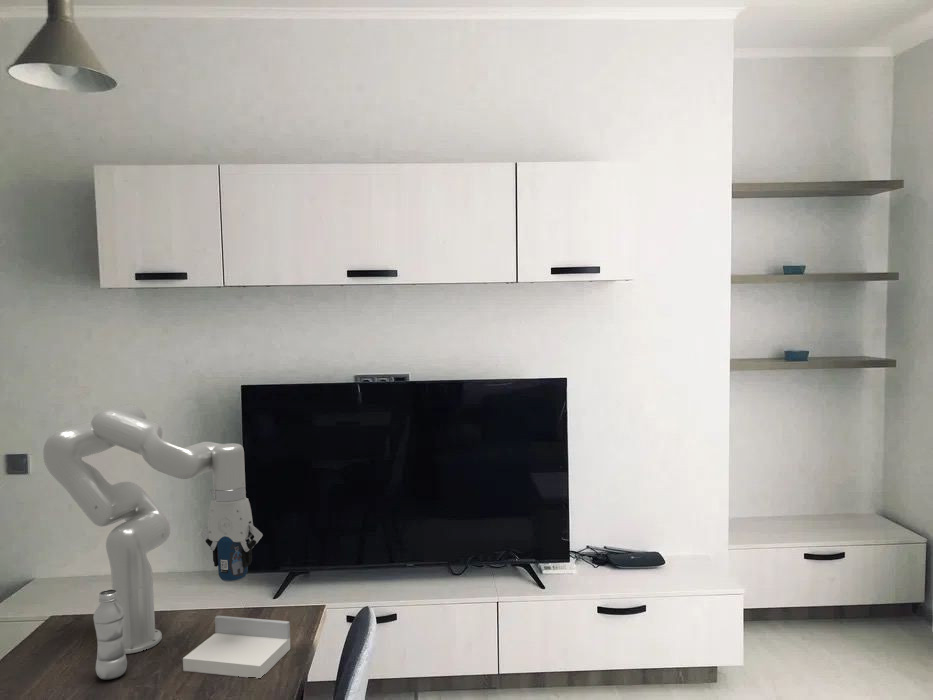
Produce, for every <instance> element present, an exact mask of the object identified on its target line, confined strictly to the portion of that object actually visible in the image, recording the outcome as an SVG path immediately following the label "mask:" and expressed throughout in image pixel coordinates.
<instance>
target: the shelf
mask: <svg viewBox="0 0 933 700" xmlns="http://www.w3.org/2000/svg"><path fill="white" fill-rule="evenodd" d="M214 623H215V624H214V625H215V627H214V628H215V631H214V632H215V633H213V634H211V636H210V637H208V638H207V639H206V640H205V641H203V642H202V643H201V644H199V645H197V646H196V647H195V648H194V649H193V650H191V651H189V652H188V654H186V655H185V656H184V657H183V658H182V671H183V672H192V673H199V674H200V673H201V674H212V675H222V676H229V677H238V676H239V677H240V678H248V677H256V678H255V679H258V678H261V677H262V676H263V675H264V674H265V675H266V674H267V673H268V672H269V671H270V670H271V669H272V668H273V667H274V666H275V665H276V664H277V663H278V662H279V661H280V660H281V659H282V658H283V657H284V656H285V655H286V654H287V653H288V652H289V651H290V650H291V628H290V627H291V626H290V624H291V623H290V621H288V620H287V621H286V620H278V619H277V620H276V619H264V618H253V617H252V618H250V617H239V616H228V615H216V616H214ZM265 675H264V676H265ZM264 676H263V677H264ZM263 677H262V678H263ZM262 678H261V679H262Z"/></svg>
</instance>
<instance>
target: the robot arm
mask: <svg viewBox="0 0 933 700" xmlns="http://www.w3.org/2000/svg"><path fill="white" fill-rule="evenodd" d="M115 446H117V447H120V448H123V449H125V450H127V451H130V452H133V453H135V454H138V455H141V456H142V458H143V460H144V461H145V462H146V464H147V465H149V466H150V467H151V469H154V470H156V471H157V472H160V473H162V474H165V475H167V476H170V477H172V478H176V479H181V480H190V479H194V478H195V477H198V476H200V475H202V474H206V473H209V472H212V482H213V483H212V486H213V487H212V488H211V489H209V491H208V494H209V495H210V496H211V495H212V497H213V499H211V500H210V503H209V504H210V505H209V509H208V518H207V519H208V520H207V527H206V528H204V530H203V531H202V532H201V533H200V536H201V537H202V539H203V540H204V541H205V543H206V544H207V545H208V546H209V549H210V551H212V561H213V566H214V567H216V568H218V551H217V542H218V541H219V540H220V539H221V538H222V537H224V536H226V537H229V538H230V539H232V541H233V542H241V545H242V547H243V549H244V551H243V552H242V562H243V568H246V567H247V566H248V567H249V566H250V565H251V564H252V562H253V550H252V549H253V548H254V547H255V546H256V545H257V544H258V543H259V541H260V540H261V539H262V537H263V536H264V535H263V533H262V532H261V531H260V530H259V528H257V527H255V525H254V522H253V515H252V514H253V513H252V508H251V503H250V501H249V498H247V495H246V494H247V491H246V472H245V466H246V465H245V451H244V447H243V445H242V444H240V443H232V442H231V443H218V442H213V441H202V442H198V443H195V444H192V445H188V446H185V447H181V446H178V445H175V444H172V443H170V442H167V441H166V440H163V429H162V426H161V425H160V424H159V423H156V422H154V421H152V420H151V421H150V420H149V419H147V416H146V413H145V411H144V410H143V409H142V408H140V407H139V406H137V405H135V404H129V403H128V404H123V405H122V404H120V405H116V406H111V407H107V408H104V409H102V410H100V411H98V412H97V413H96V414H94V416H93V417H92V419H91V422H86V423H81V424H77V425H76V424H75V425H70V426H65V427H64V428H61V429H58V430H57V431H54V432H53V433H52V434H50V435H49V436H48V437H47V439H46V440H45V443H44V445H43V451H42V452H43V453H42V454H43V462H44V465H45V467H46V470H47V471H48V472H49V474H50V475H51V477H53V478H54V479H55V481H57V483H59V485H60V486H62V487H63V488H64V489H65V490H66V492H67V493H68V494H69V496H70V497H71V498H72V500H74V502H75V503H76V504H77V506H78V507H79V508H80V509H81V510H82V512H83V513H84V514H85V516H87V518H88V520H90V521H91V523H92V524H94V525H95V526H98V527H101V528H102V527H108V526H111V525H114V524H116V523H118V522H120V521H124V522H122V523H120V524H119V525H117V526H115V527H114V528H113V529H112V530H111V531H110V533H109V534H108V535H107V537H106V541H105V548H106V549H105V550H106V554H107V557H108V560H109V566H110V574H111V589H114V590H117V596H118V599H117V600H116V601H117V602H118V603H119V604H120V605H121V606H122V607H123V610H124V623H123V645H124V651H125V655H128V654H135V653H139V652H143V650H144V651H146V649H147V650H149V649H151V648H153V647H155V646H156V645H157V644H159V643H160V642H161V640H162V637H163V635H162V632H161V630H159V629H156V624H155V623H156V620H155V599H154V597H155V595H154V594H155V593H154V577H153V576H154V575H153V569H152V565H151V563H150V561H149V559H148V557H147V554H148V553H149V552H151V551H153V550H155V549H157V548H159V547H160V546H162V545H163V544H165V542H167V541H168V539H169V537H170V534H171V526H170V523H169V521H168V518H167V516H166V515H165V514H164V512H163V511H162V510H161V509H160V508H159V507H158V506H157V504H156V503H155V502H154V500H152V498H151V496H149V494H148V493H147V492H146V491H145V489H143V487H141V486H140V485H138V484H137V483H135V482H132V481H120V482H118V483H114V484H111V483H110V482H108V480H107V479H105V477H104V475H103V474H102V473H101V472H100V471H99V470H98V469H97V468H95V466H93V465H91V464H90V463H88V462H86V461H84V460H83V459H82V458H85V457H89V456H91V455H96V454H99V453H103V452H105V451H107V450H110V449H112V448H113V447H115ZM252 536H253V538H252V539H251V537H252Z"/></svg>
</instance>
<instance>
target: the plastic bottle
mask: <svg viewBox="0 0 933 700" xmlns="http://www.w3.org/2000/svg"><path fill="white" fill-rule="evenodd" d="M98 598H99V599H98V602H99V603H100V604H99V605H98V606H97V607H96V609H95V611H94V613H93V618H92V619H93V624H94V629H95V634H96V640H97V641H96V643H97V650H96V651H97V652H96V661H95V672H96V676H97V677H99V679H101V680H114V679H117V678H119V677H121V676H123V675H124V674H125V672H126V670H127V667H128V660H127V654H125V651H124V645H123V623H124V610H123V607H122V606H121V605H120V604H119V603H118V602H117V601H116V600H117V599H118V596H117V590H114V589H112V588H111V589H105V590H102V591H100V592H99V597H98Z"/></svg>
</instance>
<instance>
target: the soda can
mask: <svg viewBox="0 0 933 700" xmlns="http://www.w3.org/2000/svg"><path fill="white" fill-rule="evenodd" d="M217 551H218V566H217V568H218V571H217V572H218V576H219V578H220V580H222V582H225V583H232V582H239V581H241V580H244V579H245V578H246V576H247V575H248V572H249V569H248V568H249V566H247V567H246V568H243V562H242V552H243V551H244V549H243V547H242V545H241V542H233V541H232V539H230V538H229V537H226V536H224V537H222V538H221V539H220V540H219V541H218V542H217Z"/></svg>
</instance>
